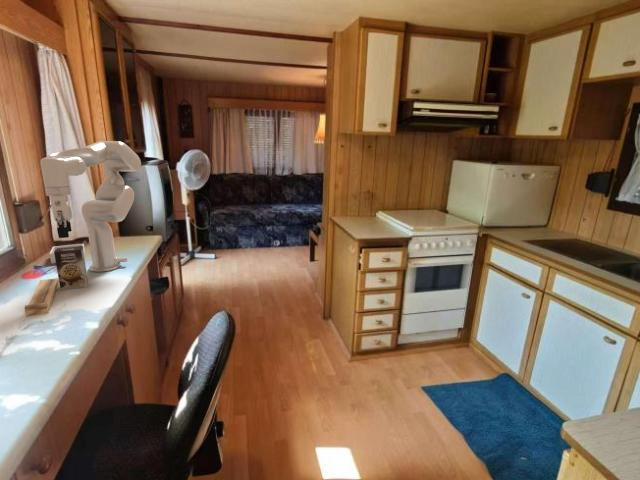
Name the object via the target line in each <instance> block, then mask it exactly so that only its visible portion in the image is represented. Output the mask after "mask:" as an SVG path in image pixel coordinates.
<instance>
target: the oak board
mask: <svg viewBox="0 0 640 480" xmlns="http://www.w3.org/2000/svg"><path fill="white" fill-rule="evenodd" d="M59 285H60V284H59V278H58V277H55V278H47V279H46V278H45V279H41V280H39V283H38V284H37V287H36V289H35V290H34V293H33V295H32V296H31V299H30V301H29V302H28V304H27V305H24V307H23V308H24V311H25V316H26V318H29V317H33V316H39V315H44V314H45V315H46V314H49V312H50V310H51V307H52V303H53V301H54V298H55V295H56V293H57V290H58V287H59Z"/></svg>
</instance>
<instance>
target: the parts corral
mask: <svg viewBox="0 0 640 480" xmlns="http://www.w3.org/2000/svg"><path fill="white" fill-rule="evenodd" d="M76 246H83V251H84V258H85V255H86V249H85V244H84V243H77V244H66V245H65V244H64V245H58V246H56V245H55V246H52V248H51V250H50V251H49V258H50V263H51V265H52V264H56V261H55V255H54V251H55V250H56V248H64V247H76Z"/></svg>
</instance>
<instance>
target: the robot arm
mask: <svg viewBox="0 0 640 480" xmlns="http://www.w3.org/2000/svg"><path fill="white" fill-rule="evenodd" d="M101 163H102V166H103V171H104V177H105V178H104V179H103V181H102V182H101V184H100V186H99V187H98V189H97V190H96V191H95V192H96V193H95V199H93V200H87V201H86V202H84V203H83V204H82V206H81V215H82V217H83V220H84V222H85V225H86V229H87V235H88V241H89V247H90V248H89V249H90V256H91V261H92V264H91V265H89V266H88V268H89V271H92V272H95V273H102V272H108V271H113V270H116V269H118V268H120V267H121V263H127V262H128V257H124V256H123V257H119V256H117V254H116V249H115V247H116V246H115V241H114V234H113V230H112V229H113V228H112V227H111V225H110V223H120V222H122V221H123V220H125V218H126V217H127V215H128V213H129V212H130V210H131V208H132V205H133V203H134V201H135V191H134V189H133V188H132V187H131V186H129V185H127V184H126V185H125V180H124V177H122V176H121V174H120V173H119V172H131V173H132V172H134V173H135V172H139V170H140V169H141V166H142V161H141V158H140V157H139V155H138V154H137V153H136V152H135V151H134V150H133V149H132V148H131V147H130V146H129V145H127V144H126V143H125V142H122V141H119V140H117V141H116V140H99V141H96V142H94V143H91V144H89V145H86V146H82V147H77V148H72V149H67V150H61V151H57V152H54V153H51V154H49V155H47V156H46V157H43V158H41V159H40V168H41V173H42V179H43V184H44V189H45V195H46V197H49V199H50V203H51V205H50V206H51V210H52V215H53V221H54V222H56V231H57V236H58V238H59V239H66V238H69V237H70V234H69V232H70V233H71V232H72V225H71V220H72V219H73V213H72V208H71V203H70V199H69V195H71V188H70V182H69V177H70V176H71V177H72V176H73V177H77V176H81V175H83V174H84V173H85V172H86V170H87V168H90V167H91V168H93V167H97V166H98V165H100V164H101ZM68 176H69V177H68Z"/></svg>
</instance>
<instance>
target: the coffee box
mask: <svg viewBox="0 0 640 480" xmlns="http://www.w3.org/2000/svg"><path fill="white" fill-rule="evenodd" d="M54 255H55V261H56V263H55V266H56V271H57V278H59V284H58V285H59V287H60V289H59V290H60V291H66V290H73V289H80V288H81V289H82V288H88V285H89V279H88V273H87V266H86V260H85V257H84V251H83V246H76V247H64V248H56V250H55V251H54Z"/></svg>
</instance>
